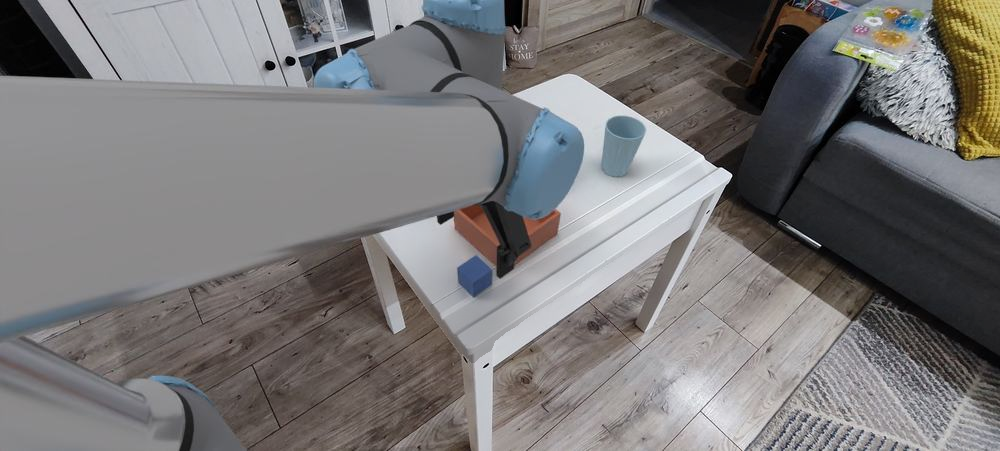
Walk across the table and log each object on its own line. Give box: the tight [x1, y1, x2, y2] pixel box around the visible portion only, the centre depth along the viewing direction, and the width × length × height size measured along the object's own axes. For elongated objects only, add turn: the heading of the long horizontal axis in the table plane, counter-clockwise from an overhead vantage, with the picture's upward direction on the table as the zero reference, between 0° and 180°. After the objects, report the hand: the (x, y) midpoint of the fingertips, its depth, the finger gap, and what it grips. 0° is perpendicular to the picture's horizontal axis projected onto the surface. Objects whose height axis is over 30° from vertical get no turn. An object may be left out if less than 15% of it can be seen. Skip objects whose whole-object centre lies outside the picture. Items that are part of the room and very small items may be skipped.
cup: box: [600, 115, 647, 178], centre depth 91 cm, size 8×8×10 cm
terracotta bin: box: [453, 205, 562, 268], centre depth 80 cm, size 13×13×6 cm
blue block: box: [456, 254, 493, 298], centre depth 73 cm, size 4×4×4 cm
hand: (474, 244), depth 68 cm, fingers open, 13 cm apart
